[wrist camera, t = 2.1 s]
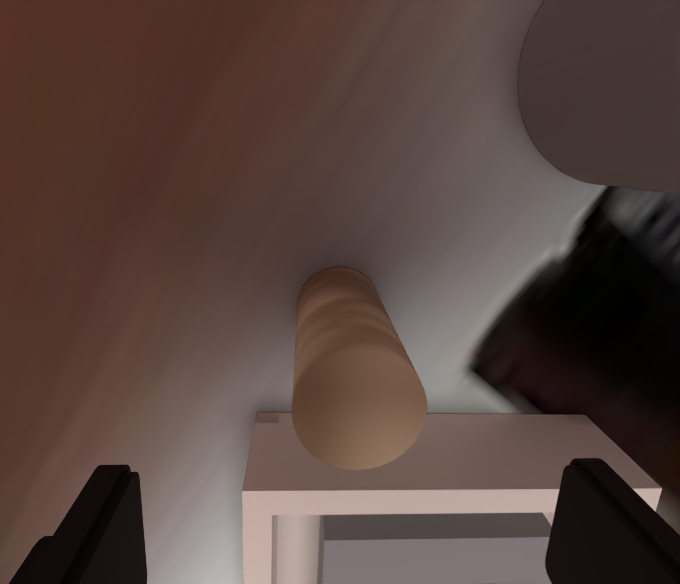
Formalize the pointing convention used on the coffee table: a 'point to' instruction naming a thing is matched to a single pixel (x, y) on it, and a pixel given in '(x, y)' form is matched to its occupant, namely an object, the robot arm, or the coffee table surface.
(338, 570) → the plate
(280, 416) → the open box
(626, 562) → the robot arm
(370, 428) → the peg
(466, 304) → the coffee table surface
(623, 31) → the coffee mug
